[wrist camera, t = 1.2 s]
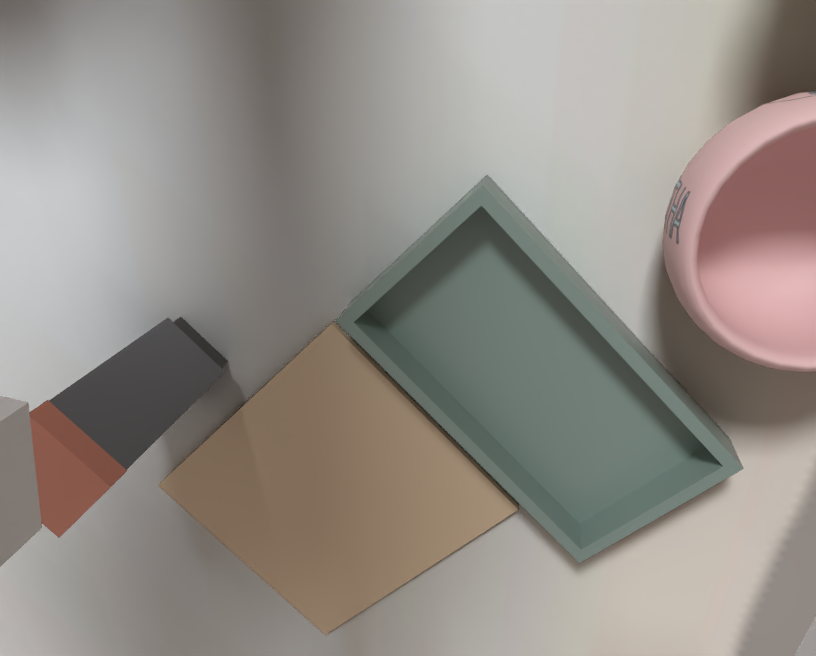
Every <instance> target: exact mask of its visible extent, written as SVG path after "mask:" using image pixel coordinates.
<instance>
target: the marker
mask: <svg viewBox="0 0 816 656" xmlns="http://www.w3.org/2000/svg"><path fill="white" fill-rule="evenodd" d="M227 362H228V361H227V360H226V359H225V358H224V357H223V356H222V355H221V354H220V353H218V352H217V351H216V350H215V349H214V348H213V347H212V346H211V345H210V344H209V343H208V342H207V341H206V340H205V339H204V338H203V337H202V336H201V335H200V334H198V333H197V332H196V331H195V330H194V329H193V328H192V327H191V326H190V325H189V324H188V323H187V322H186V321H185V320H184V319H183V318H182V317H180V318H179V319H177V320H176V321H175V322H172V321H171V320H170V319H169V318H167V319H165V320H164V321H163V322H161V323H160V324H158V325H157V326H155V327H154V328H153V329H151V330H150V331H148V332H147V333H145V334H144V335H143V336H141V337H140V338H138V339H137V340H135V341H134V342H133V343H131V344H130V345H128V346H127V347H125V348H124V349H123V350H121V351H120V352H118V353H117V354H115V355H114V356H112V357H111V358H110V359H108V360H107V361H105V362H104V363H102V364H101V365H100V366H98V367H97V368H95V369H94V370H92V371H91V372H90V373H88V374H87V375H85V376H84V377H82V378H81V379H80V380H78V381H77V382H75V383H74V384H72V385H71V386H70V387H68V388H67V389H65V390H64V391H62V392H61V393H60V394H58V395H57V396H55V397H54V398H52V399H51V400H49V401H48V400H47V401H45V402H44V403H42V404H41V405H40V406H38V407H37V408H35V409H34V410H32V411H31V412H30V413H29V414H30V423H31V432H32V441H33V450H34V460H35V469H36V478H37V487H38V496H39V505H40V514H41V523H42V524H44V525H45V526H46V527H47V528H48V529H49V530H51V531H52V532H53V533H54V534H55V535H56V536H58V537H60V536H61V535H62V534H63V533H64V532H65V531H66V530H67V529H69V528H70V527H71V526H72V525H73V524H74V523H75V522H76V521H77V520H78V519H79V518H80V517H81V516H82V515H83V514H84V513H85V512H86V511H87V510H88V509H89V508H90V507H91V506H92V505H93V504H94V503H95V502H96V501H97V500H98V499H99V498H100V497H101V496H102V495H103V494H104V493H105V492H106V491H107V490H108V489H109V488H110V487H111V486H112V485H113V484H114V483H115V482H116V481H117V480H118V479H119V478H120V477H121V476H122V475H123V474H124V473H125V472H126V471H127V469H128V468H129V467H130V466H131V465H132V464H133V463H134V462H135V461H136V460H137V459H138V458H139V457H140V456H141V455H142V454H143V453H144V452H145V451H146V450H147V449H148V448H149V447H150V446H151V445H152V444H153V443H154V442H155V441H156V440H157V439H158V438H159V437H160V436H161V435H162V434H163V433H164V432H165V431H166V430H167V429H168V428H169V427H170V426H171V425H172V424H173V423H174V422H175V421H176V420H177V419H178V418H179V417H180V416H181V415H182V414H183V413H184V412H185V411H186V410H187V409H188V408H189V407H190V406H191V405H192V404H193V403H194V402H195V401H196V400H197V399H198V398H199V397H200V396H201V395H202V394H203V393H204V392H205V391H206V390H207V389H208V388H209V387H210V386H212V385H213V384H214V383H215V382H216V381H217V380H218V379H219V378H220V377H221V376H222V375H223V374H224V373H225V371H224V370H223V369H222V367H223V366H224V365H225V364H226V363H227Z"/></svg>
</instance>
